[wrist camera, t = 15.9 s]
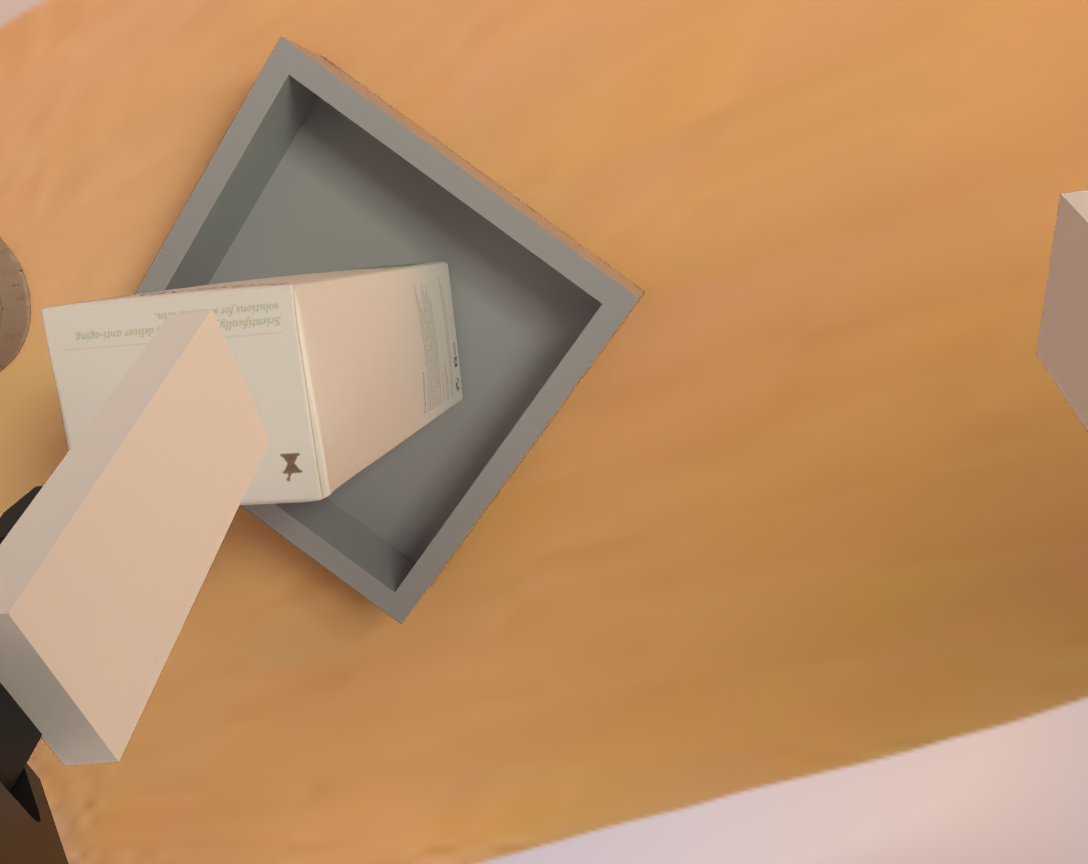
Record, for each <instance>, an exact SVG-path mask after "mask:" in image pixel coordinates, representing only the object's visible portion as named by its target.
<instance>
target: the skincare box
mask: <svg viewBox="0 0 1088 864" xmlns="http://www.w3.org/2000/svg"><path fill="white" fill-rule="evenodd" d="M209 309H212V311H213V313H214V315H215V317H216V320H217V322H218V324H219V327H220V329H221V331H222V333H223V336H224V338H225V340H226V342H227V345H228V347H229V349H230V352H231V354H232V356H233V358H234V361H235V363H236V365H237V368H238V370H239V372H240V374H241V377H242V379H243V381H244V383H245V386H246V388H247V390H248V393H249V395H250V397H251V399H252V402H253V404H254V406H255V408H256V411H257V413H258V415H259V418H260V420H261V422H262V424H263V427H264V429H265V431H266V434H267V436H268V438H269V440H270V441H269V443H268V445H267V447H266V450H265V452H264V454H263V456H262V458H261V460H260V462H259V465H258V467H257V469H256V471H255V473H254V475H253V477H252V479H251V482H250V484H249V486H248V488H247V490H246V492H245V494H244V497H243V499H242V501H241V503H240V505H256V504H276V503H296V502H310V501H317V500H321V499H323V498H325V497H328V496H329V495H331V494H332V492H333V491H334V490H335V489H337V488H338V487H339V486H341V485H342V484H343V483H345V482H346V481H348V480H349V479H350V478H352V477H353V476H354V475H356V474H357V473H359V472H360V471H362V470H363V469H364V468H366V467H367V466H369V465H370V464H372V463H373V462H374V461H376V460H377V459H379V458H380V457H382V456H383V455H384V454H386V453H387V452H389V451H390V450H391V449H393V448H394V447H396V446H397V445H398V444H400V443H401V442H403V441H404V440H406V439H407V438H408V437H410V436H411V435H413V434H414V433H415V432H417V431H418V430H420V429H421V428H423V427H424V426H426V425H427V424H428V423H430V422H431V421H433V420H434V419H436V418H437V417H439V416H440V415H441V414H443V413H444V412H446V411H447V410H449V409H450V408H452V407H453V406H455V405H456V404H458V403H460V402H461V401H462V399H463V394H462V385H461V375H460V365H459V355H458V346H457V337H456V328H455V320H454V311H453V302H452V294H451V286H450V277H449V269H448V264H447V263H446V262H444V261H442V262H430V263H418V264H406V265H395V266H383V267H372V268H360V269H349V270H338V271H328V272H319V273H309V274H299V275H289V276H280V277H271V278H262V279H253V280H244V281H235V282H226V283H219V284H211V285H203V286H195V287H187V288H179V289H171V290H164V291H157V292H150V293H143V294H136V295H129V296H123V297H116V298H109V299H102V300H95V301H88V302H81V303H74V304H67V305H60V306H54V307H48V308H44V309H42V312H41V314H42V318H43V323H44V328H45V334H46V339H47V344H48V349H49V354H50V358H51V363H52V368H53V372H54V377H55V382H56V388H57V393H58V398H59V403H60V409H61V414H62V419H63V424H64V430H65V435H66V440H67V445H68V450H70V449H71V448H72V446H73V445H74V443H75V442H76V441H77V439H78V438H79V437H80V435H81V434H82V433H83V431H84V430H85V428H86V427H87V426H88V424H89V423H90V422H91V420H92V419H93V418H94V416H95V415H96V414H97V412H98V411H99V409H100V408H101V407H102V405H103V404H104V403H105V401H106V400H107V399H108V397H109V396H110V394H111V393H112V392H113V390H114V389H115V388H116V386H117V385H118V384H119V382H120V381H121V380H122V378H123V377H124V375H125V374H126V373H127V371H128V370H129V369H130V367H131V366H132V365H133V363H134V362H135V360H136V359H137V358H138V356H139V355H140V354H141V352H142V351H143V350H144V348H145V347H146V345H147V344H148V343H149V341H150V340H151V339H152V337H153V336H154V335H155V333H156V332H157V331H158V329H159V328H160V326H161V325H162V324H163V322H164V321H165V320H166V318H167V317H168V316H169V315H173V314H180V313H187V312H195V311H202V310H209Z"/></svg>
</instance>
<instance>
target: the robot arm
mask: <svg viewBox="0 0 1088 864" xmlns="http://www.w3.org/2000/svg"><path fill="white" fill-rule="evenodd" d="M1036 355H1037V357H1038V358H1039V360H1040V361H1041V363H1042V364H1043V366H1044V367H1045V369H1046V370H1047V372H1048V373H1049V375H1050V376H1051V378H1052V379H1053V381H1054V382H1055V384H1056V385H1057V387H1058V388H1059V390H1060V391H1061V393H1062V394H1063V396H1064V397H1065V399H1066V400H1067V402H1068V403H1069V405H1070V406H1071V408H1072V409H1073V411H1074V412H1075V414H1076V415H1077V417H1078V418H1079V420H1080V421H1081V423H1082V424H1083V426H1084V427H1085V429H1086V430H1087V432H1088V190H1084V191H1076V192H1069V193H1061V194H1060V201H1059V208H1058V214H1057V221H1056V227H1055V234H1054V240H1053V247H1052V253H1051V260H1050V266H1049V273H1048V280H1047V286H1046V293H1045V299H1044V306H1043V312H1042V319H1041V325H1040V332H1039V339H1038V345H1037V352H1036ZM269 441H270V440H269V438H268V436H267V434H266V431H265V429H264V427H263V424H262V422H261V420H260V418H259V415H258V413H257V411H256V408H255V406H254V404H253V402H252V399H251V397H250V395H249V393H248V390H247V388H246V386H245V383H244V381H243V379H242V377H241V374H240V372H239V370H238V368H237V365H236V363H235V361H234V358H233V356H232V354H231V352H230V349H229V347H228V345H227V342H226V340H225V338H224V336H223V333H222V331H221V329H220V327H219V324H218V322H217V320H216V317H215V315H214V313H213V311H212V309H209V310H202V311H195V312H187V313H180V314H173V315H169V316H168V317H167V318H166V320H165V321H164V322H163V324H162V325H161V326H160V328H159V329H158V331H157V332H156V333H155V335H154V336H153V337H152V339H151V340H150V341H149V343H148V344H147V345H146V347H145V348H144V350H143V351H142V352H141V354H140V355H139V356H138V358H137V359H136V360H135V362H134V363H133V365H132V366H131V367H130V369H129V370H128V371H127V373H126V374H125V375H124V377H123V378H122V380H121V381H120V382H119V384H118V385H117V386H116V388H115V389H114V390H113V392H112V393H111V394H110V396H109V397H108V399H107V400H106V401H105V403H104V404H103V405H102V407H101V408H100V409H99V411H98V412H97V414H96V415H95V416H94V418H93V419H92V420H91V422H90V423H89V424H88V426H87V427H86V428H85V430H84V431H83V433H82V434H81V435H80V437H79V438H78V439H77V441H76V442H75V443H74V445H73V446H72V448H71V449H70V450H69V452H68V453H67V454H66V456H65V457H64V458H63V460H62V461H61V463H60V464H59V465H58V467H57V468H56V469H55V471H54V472H53V473H52V475H51V476H50V477H49V479H48V480H47V482H46V483H45V484H44V486H38V487H35V488H34V489H32V490H31V491H30V492H29V493H27V494H26V495H25V496H24V497H23V498H21V499H20V500H19V501H18V502H16V503H15V504H14V505H13V506H12V507H10V508H9V509H8V510H7V511H5V512H4V514H3V515H2V516H1V518H0V864H68V861H67V858H66V855H65V852H64V849H63V846H62V844H61V841H60V838H59V835H58V832H57V829H56V826H55V823H54V820H53V817H52V814H51V811H50V808H49V805H48V802H47V799H46V796H45V793H44V790H43V787H42V784H41V781H40V779H39V778H38V776H37V775H36V774H35V773H34V771H33V770H32V769H31V768H30V767H29V765H28V764H27V761H28V760H29V758H30V756H31V754H32V752H33V751H34V749H35V747H36V745H37V743H38V742H39V740H40V738H42V739H43V740H44V741H45V743H46V744H47V745H48V746H49V748H50V749H51V750H52V751H53V753H54V754H55V755H56V756H57V758H58V759H59V760H60V761H61V762H62V764H63V765H78V764H94V763H111V762H119V761H120V759H121V757H122V754H123V752H124V750H125V748H126V746H127V744H128V742H129V740H130V737H131V735H132V733H133V731H134V729H135V727H136V725H137V723H138V720H139V718H140V716H141V714H142V712H143V710H144V708H145V705H146V703H147V701H148V699H149V697H150V695H151V693H152V691H153V688H154V686H155V684H156V682H157V680H158V678H159V676H160V673H161V671H162V669H163V667H164V665H165V663H166V661H167V659H168V656H169V654H170V652H171V650H172V648H173V646H174V644H175V641H176V639H177V637H178V635H179V633H180V631H181V629H182V627H183V624H184V622H185V620H186V618H187V616H188V614H189V612H190V610H191V607H192V605H193V603H194V601H195V599H196V597H197V595H198V592H199V590H200V588H201V586H202V584H203V582H204V580H205V578H206V575H207V573H208V571H209V569H210V567H211V565H212V563H213V560H214V558H215V556H216V554H217V552H218V550H219V548H220V546H221V543H222V541H223V539H224V537H225V535H226V533H227V531H228V529H229V526H230V524H231V522H232V520H233V518H234V516H235V514H236V511H237V509H238V507H239V505H240V503H241V501H242V499H243V497H244V494H245V492H246V490H247V488H248V486H249V484H250V482H251V479H252V477H253V475H254V473H255V471H256V469H257V467H258V465H259V462H260V460H261V458H262V456H263V454H264V452H265V450H266V447H267V445H268V443H269Z"/></svg>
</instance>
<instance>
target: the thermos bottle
mask: <svg viewBox="0 0 1088 864" xmlns="http://www.w3.org/2000/svg"><path fill="white" fill-rule="evenodd" d="M30 314H31V310H30V295H29V291H28V286H27V282H26V279H25V276H24V274H23V271H22V269H21V267H20V264H19V263H18V261H17V259H16V258H15V256H14V255H13V253H12V251H11V250H10V249H9V248H8V246H7V245H6V244H5V243H4V242H3V241H2V240H1V239H0V370H2V369H3V368H5V367H6V366H7V365H8V364H9V363H10V362H11V361H12V360H13V359H14V358H15V357H16V355H17V354H18V352H19V350H20V349H21V347H22V345H23V344H24V341H25V338H26V335H27V332H28V329H29V322H30Z"/></svg>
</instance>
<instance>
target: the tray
mask: <svg viewBox="0 0 1088 864" xmlns="http://www.w3.org/2000/svg"><path fill="white" fill-rule="evenodd" d="M442 261H444V262H446V263H447V264H448V269H449V277H450V286H451V294H452V302H453V311H454V320H455V328H456V337H457V346H458V355H459V365H460V375H461V385H462V394H463V399H462V401H461V402H460V403H458V404H456V405H455V406H453V407H452V408H450V409H449V410H447V411H446V412H444V413H443V414H441V415H440V416H439V417H437V418H436V419H434V420H433V421H431V422H430V423H428V424H427V425H426V426H424V427H423V428H421V429H420V430H418V431H417V432H415V433H414V434H413V435H411V436H410V437H408V438H407V439H406V440H404V441H403V442H401V443H400V444H398V445H397V446H396V447H394V448H393V449H391V450H390V451H389V452H387V453H386V454H384V455H383V456H382V457H380V458H379V459H377V460H376V461H374V462H373V463H372V464H370V465H369V466H367V467H366V468H364V469H363V470H362V471H360V472H359V473H357V474H356V475H354V476H353V477H352V478H350V479H349V480H348V481H346V482H345V483H343V484H342V485H341V486H339V487H338V488H337V489H335V490H334V491H333V492H332V494H331V495H329V496H328V497H325V498H323V499H321V500H317V501H310V502H296V503H276V504H256V505H241V506H242V507H244V508H245V509H246V510H248V511H249V512H250V513H252V514H253V515H254V516H256V517H257V518H258V519H260V520H261V521H262V522H264V523H265V524H267V525H268V526H269V527H271V528H272V529H273V530H275V531H276V532H277V533H279V534H280V535H281V536H283V537H284V538H285V539H287V540H288V541H290V542H291V543H292V544H294V545H295V546H296V547H298V548H299V549H300V550H302V551H303V552H304V553H306V554H307V555H309V556H310V557H311V558H313V559H314V560H315V561H317V562H318V563H319V564H321V565H322V566H323V567H325V568H326V569H327V570H329V571H330V572H332V573H333V574H334V575H336V576H337V577H338V578H340V579H341V580H342V581H344V582H345V583H346V584H348V585H349V586H350V587H352V588H353V589H355V590H356V591H357V592H359V593H360V594H361V595H363V596H364V597H365V598H367V599H368V600H369V601H371V602H372V603H373V604H375V605H376V606H378V607H379V608H380V609H382V610H383V611H384V612H386V613H387V614H388V615H390V616H391V617H392V618H394V619H395V620H397V621H398V622H399V623H401V624H402V622H403V621H404V620H405V618H406V617H407V616H408V614H409V613H410V612H411V611H412V609H413V608H414V607H415V605H416V604H417V603H418V601H419V600H420V599H421V598H422V596H423V595H424V594H425V592H426V591H427V590H428V589H429V587H430V586H431V584H432V583H433V582H434V580H435V579H436V578H437V576H438V575H439V573H440V572H441V571H442V569H443V568H444V567H445V565H446V564H447V563H448V561H449V560H450V558H451V557H452V556H453V554H454V553H455V552H456V550H457V549H458V547H459V546H460V545H461V543H462V542H463V541H464V539H465V538H466V537H467V535H468V534H469V532H470V531H471V530H472V528H473V527H474V526H475V524H476V523H477V521H478V520H479V519H480V517H481V516H482V515H483V513H484V512H485V510H486V509H487V508H488V506H489V505H490V504H491V502H492V501H493V500H494V498H495V497H496V495H497V494H498V493H499V491H500V490H501V489H502V487H503V486H504V484H505V483H506V482H507V480H508V479H509V478H510V476H511V475H512V473H513V472H514V471H515V469H516V468H517V467H518V465H519V464H520V463H521V461H522V460H523V458H524V457H525V456H526V454H527V453H528V452H529V450H530V449H531V447H532V446H533V445H534V443H535V442H536V441H537V439H538V438H539V436H540V435H541V434H542V432H543V431H544V430H545V428H546V427H547V426H548V424H549V423H550V421H551V420H552V419H553V417H554V416H555V415H556V413H557V412H558V410H559V409H560V408H561V406H562V405H563V404H564V402H565V401H566V399H567V398H568V397H569V395H570V394H571V393H572V391H573V390H574V389H575V387H576V386H577V384H578V383H579V382H580V380H581V379H582V378H583V376H584V375H585V373H586V372H587V371H588V369H589V368H590V367H591V365H592V364H593V362H594V361H595V360H596V358H597V357H598V356H599V354H600V353H601V352H602V350H603V349H604V347H605V346H606V345H607V343H608V342H609V341H610V339H611V338H612V336H613V335H614V334H615V332H616V331H617V330H618V328H619V327H620V325H621V324H622V323H623V321H624V320H625V319H626V317H627V316H628V315H629V313H630V312H631V310H632V309H633V308H634V306H635V305H636V304H637V302H638V301H639V299H640V298H641V297H642V295H643V294H644V293H645V292H644V291H643V290H641V289H640V288H639V287H637V286H636V285H635V284H633V283H632V282H630V281H629V280H628V279H626V278H625V277H624V276H622V275H621V274H619V273H618V272H617V271H615V270H614V269H613V268H611V267H610V266H609V265H607V264H606V263H604V262H603V261H602V260H600V259H599V258H598V257H596V256H595V255H594V254H592V253H591V252H589V251H588V250H587V249H585V248H584V247H583V246H581V245H580V244H578V243H577V242H576V241H574V240H573V239H572V238H570V237H569V236H568V235H566V234H565V233H563V232H562V231H561V230H559V229H558V228H557V227H555V226H554V225H552V224H551V223H550V222H548V221H547V220H546V219H544V218H543V217H542V216H540V215H539V214H537V213H536V212H535V211H533V210H532V209H531V208H529V207H528V206H527V205H525V204H524V203H522V202H521V201H520V200H518V199H517V198H516V197H514V196H513V195H511V194H510V193H509V192H507V191H506V190H505V189H503V188H502V187H501V186H499V185H498V184H496V183H495V182H494V181H492V180H491V179H490V178H488V177H487V176H486V175H484V174H483V173H481V172H480V171H479V170H477V169H476V168H475V167H473V166H472V165H470V164H469V163H468V162H466V161H465V160H464V159H462V158H461V157H460V156H458V155H457V154H455V153H454V152H453V151H451V150H450V149H449V148H447V147H446V146H444V145H443V144H442V143H440V142H439V141H438V140H436V139H435V138H434V137H432V136H431V135H429V134H428V133H427V132H425V131H424V130H423V129H421V128H420V127H419V126H417V125H416V124H414V123H413V122H412V121H410V120H409V119H408V118H406V117H405V116H403V115H402V114H401V113H399V112H398V111H397V110H395V109H394V108H393V107H391V106H390V105H388V104H387V103H386V102H384V101H383V100H382V99H380V98H379V97H378V96H376V95H375V94H373V93H372V92H371V91H369V90H368V89H367V88H365V87H364V86H362V85H361V84H360V83H358V82H357V81H356V80H354V79H353V78H352V77H350V76H349V75H347V74H346V73H345V72H343V71H342V70H341V69H339V68H338V67H336V66H335V65H334V64H332V63H331V62H330V61H328V60H327V59H326V58H324V57H322V56H320V55H318V54H316V53H314V52H312V51H310V50H308V49H306V48H304V47H302V46H300V45H298V44H296V43H294V42H292V41H290V40H288V39H286V38H284V37H280V39H279V41H278V42H277V44H276V46H275V48H274V49H273V51H272V53H271V55H270V56H269V58H268V60H267V62H266V64H265V65H264V67H263V69H262V71H261V72H260V74H259V76H258V78H257V79H256V81H255V83H254V85H253V87H252V88H251V90H250V92H249V94H248V95H247V97H246V99H245V101H244V102H243V104H242V106H241V108H240V110H239V111H238V113H237V115H236V117H235V118H234V120H233V122H232V124H231V125H230V127H229V129H228V131H227V132H226V134H225V136H224V138H223V140H222V141H221V143H220V145H219V147H218V148H217V150H216V152H215V154H214V155H213V157H212V159H211V161H210V163H209V164H208V166H207V168H206V170H205V171H204V173H203V175H202V177H201V178H200V180H199V182H198V184H197V186H196V187H195V189H194V191H193V193H192V194H191V196H190V198H189V200H188V201H187V203H186V205H185V207H184V208H183V210H182V212H181V214H180V216H179V217H178V219H177V221H176V223H175V224H174V226H173V228H172V230H171V231H170V233H169V235H168V237H167V239H166V240H165V242H164V244H163V246H162V247H161V249H160V251H159V253H158V254H157V256H156V258H155V260H154V262H153V263H152V265H151V267H150V269H149V270H148V272H147V274H146V276H145V277H144V279H143V281H142V283H141V284H140V286H139V288H138V290H137V292H136V293H135V295H136V294H143V293H150V292H157V291H164V290H171V289H179V288H187V287H195V286H203V285H211V284H219V283H226V282H235V281H244V280H253V279H262V278H271V277H280V276H289V275H299V274H309V273H319V272H328V271H338V270H349V269H360V268H372V267H383V266H395V265H406V264H418V263H430V262H442Z"/></svg>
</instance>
